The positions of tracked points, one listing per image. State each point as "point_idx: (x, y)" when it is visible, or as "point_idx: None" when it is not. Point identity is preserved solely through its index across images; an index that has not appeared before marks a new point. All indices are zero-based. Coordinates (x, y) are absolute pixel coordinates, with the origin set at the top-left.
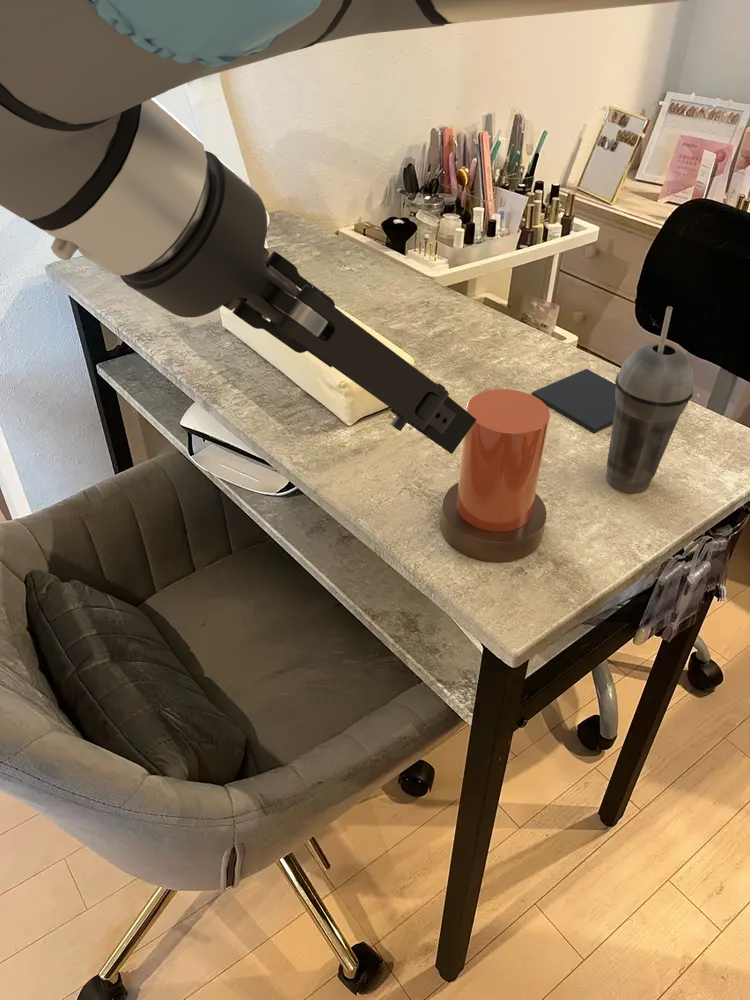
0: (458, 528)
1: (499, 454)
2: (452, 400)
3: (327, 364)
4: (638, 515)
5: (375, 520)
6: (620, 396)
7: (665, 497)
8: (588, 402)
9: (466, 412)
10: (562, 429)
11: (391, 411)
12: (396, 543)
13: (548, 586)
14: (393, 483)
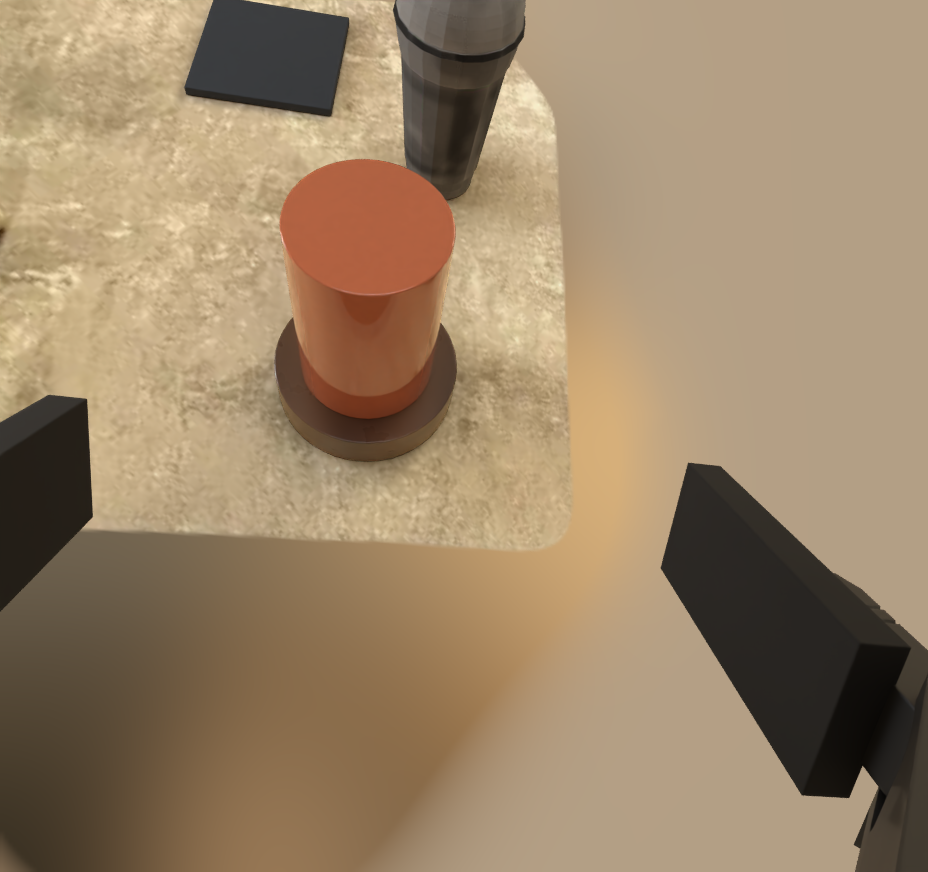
0: (362, 440)
1: (412, 318)
2: (793, 537)
3: (82, 525)
4: (498, 225)
5: (204, 508)
6: (431, 62)
7: (498, 174)
8: (277, 63)
9: (746, 493)
10: (286, 134)
11: (805, 792)
12: (278, 523)
13: (516, 421)
14: (156, 414)
